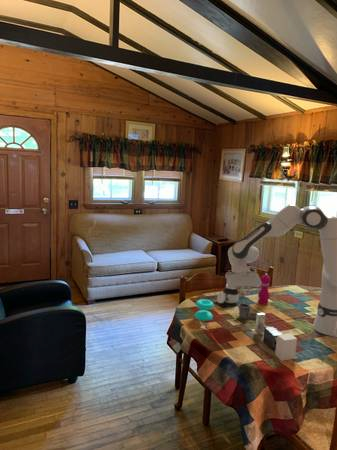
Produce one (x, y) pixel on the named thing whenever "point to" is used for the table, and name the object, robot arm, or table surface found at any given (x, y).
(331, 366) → the table surface
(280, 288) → the table surface
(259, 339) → the base board
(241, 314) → the pipe
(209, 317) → the donuts
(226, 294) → the spread jar
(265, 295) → the pepper mill
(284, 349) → the socket
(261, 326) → the tube
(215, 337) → the table surface
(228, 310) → the table surface
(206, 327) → the cell phone
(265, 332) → the sleeve
